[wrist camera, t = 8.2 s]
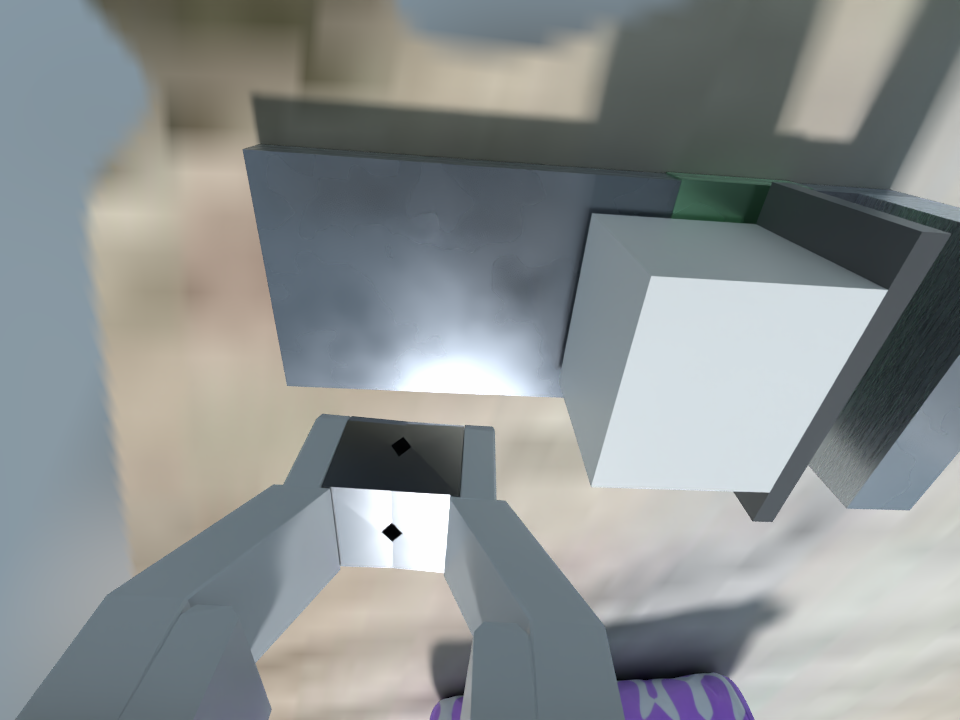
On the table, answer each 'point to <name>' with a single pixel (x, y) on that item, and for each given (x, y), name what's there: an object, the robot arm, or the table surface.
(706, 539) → the table surface
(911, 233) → the white cube on plate
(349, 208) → the rail
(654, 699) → the pencil case
